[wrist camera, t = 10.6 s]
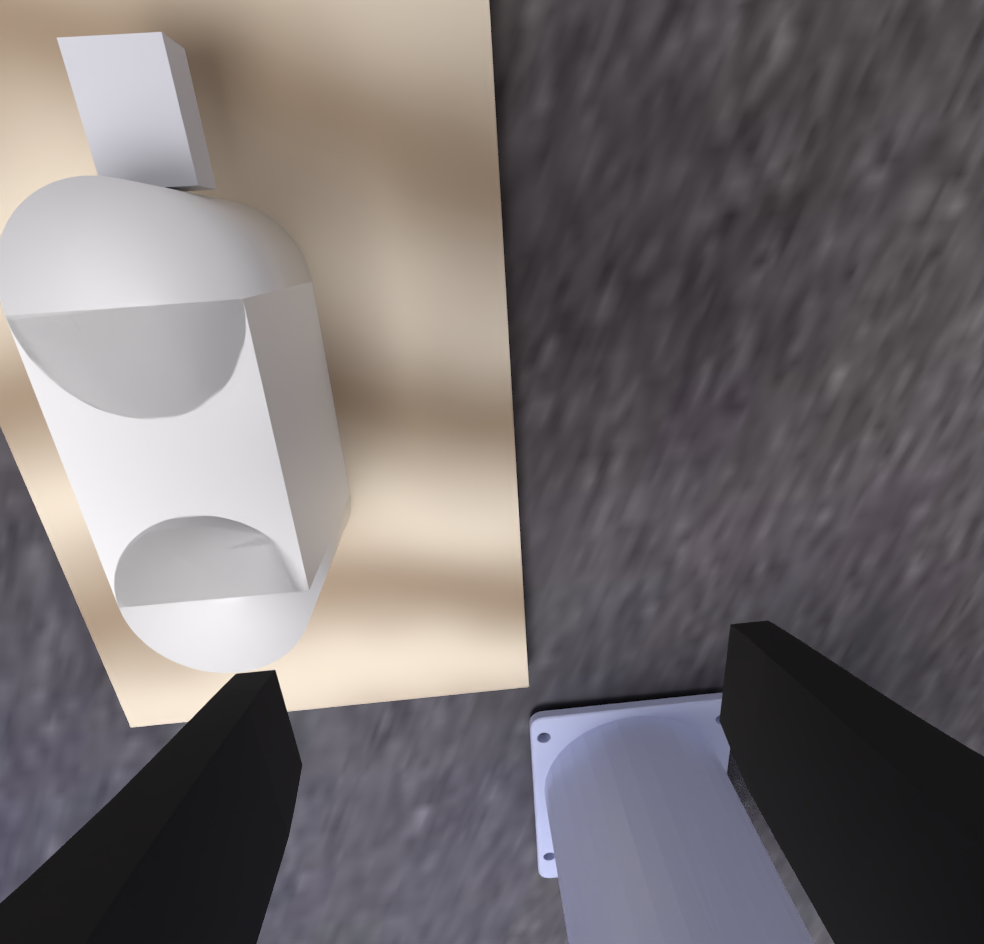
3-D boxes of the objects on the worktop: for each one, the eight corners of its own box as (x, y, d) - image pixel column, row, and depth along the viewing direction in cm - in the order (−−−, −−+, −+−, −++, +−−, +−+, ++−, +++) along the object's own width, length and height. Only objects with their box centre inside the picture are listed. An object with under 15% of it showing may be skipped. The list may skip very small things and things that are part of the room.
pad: (525, 667, 21) (528, 686, 20) (145, 705, 20) (130, 727, 19) (478, -114, 12) (480, -144, 11) (-176, -78, 12) (-230, -106, 11)
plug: (360, 551, 17) (325, 664, 13) (230, 563, 17) (147, 681, 12) (275, 76, 12) (169, -25, 8) (94, 86, 12) (-122, -10, 8)
